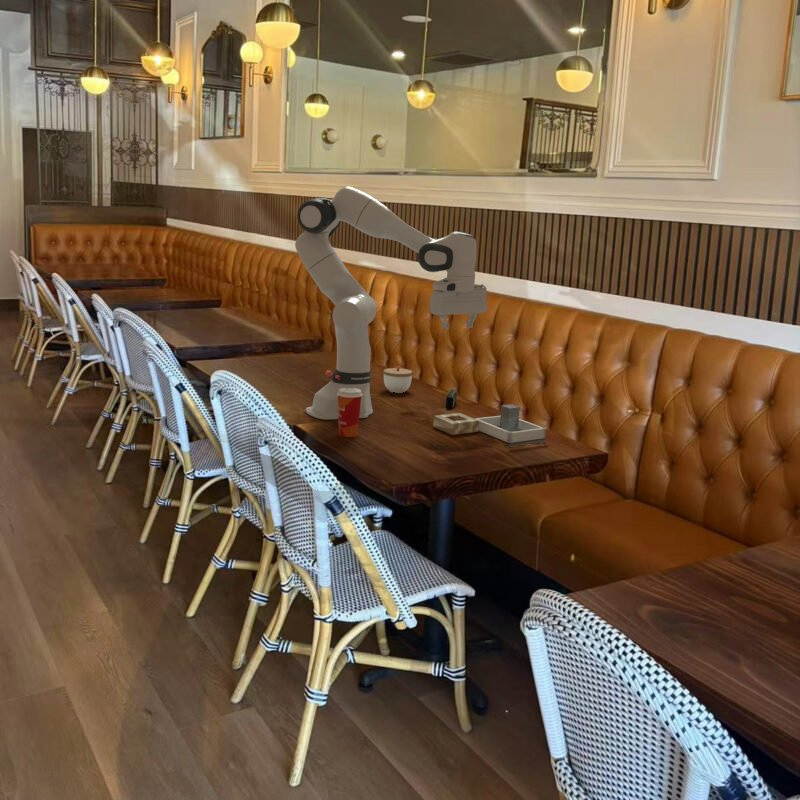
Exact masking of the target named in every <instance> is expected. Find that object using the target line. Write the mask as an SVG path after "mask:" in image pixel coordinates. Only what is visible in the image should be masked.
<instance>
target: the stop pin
mask: <svg viewBox="0 0 800 800" xmlns="http://www.w3.org/2000/svg"><path fill="white" fill-rule="evenodd" d="M500 406H501V407H500V416H501V417H500V426H499V428H502V429H504V430H507V431H509V432H515V431H519V429H518V423H519V419H520V409H521V407H520V406H517V405H515V404H512V403H511V404H504V405H503V404H502V405H500Z"/></svg>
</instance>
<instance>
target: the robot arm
mask: <svg viewBox="0 0 800 800" xmlns="http://www.w3.org/2000/svg"><path fill="white" fill-rule="evenodd" d="M296 216H297V217H296V218H297V222H298V225H299V226H300V227H301V229H303V230H304V231H303V232H302V233H301V234H299V236H298V237H297V239H296V240H295V245H294V246H295V250H296V253H297V254H298V257H299V259H300V261H301V263H302V264H303V266H304V268H305V270H306V271H307V272H308V274H309V276H310V277H311V278H312V280H313V281H314V283H315V285H316V286H317V287H318V289H319V290H320V292H321V293H322V294H324V295H325V296H326V297H327V298H328V299H329V300H330V301H331V302H332V303H333V305H334V306H335V307H334V308H333V310H332V321H333V324H334V333H335V339H336V368H335V370H334V371H331V370H330V369H329V370H328V369H327V370H326V372H325V375H326V377H328V378H331V380H330V381H329V382H328V383H327V384H326V385H324V386H323V387H322V388H321V389H319V390H318V391H316V392H315V394H314V397H313V401H312V406H309V407H305V413H306V414H307V415H309V416H311V417H313V418H315V419H320V420H327V421H328V420H338V395H337V393H338V390H339V389H341V388H352V389H353V388H356V389H360V390H361V393H362V396H361V405H360V416H359V419H366V418H368V417H369V416H370V415H372V414H373V413H374V410H373V405H372V401H371V390H370V386H371V380H372V371H371V354H372V353H371V349H372V348H371V345H370V344H371V343H370V339H369V338H370V337H369V330H368V329H369V324H370V323H372V322H373V320H374V319H375V317H376V315H377V308H378V307H377V304H376V303H377V302H376V301H375V299H374V298H373V297H372V296H370V294H368V292H367V291H366V290H365V288H364V287H363V286H362V285H361V284H360V282H358V280H356V279H355V277H354V276H353V275H352V274H351V272H350V271H349V270H348V268H347V267H346V266H345V264H344V262H343V260H341V258H340V256H339V255H338V253H337V252H336V251H335V249H334V248H333V246H332V244H331V243H330V241H329V240H330V239H329V238H330V237H331V236H332V235H333V233H335V231H336V230H337V228H338V227H339V226H340V225H341V223H342V222H344V223H347V224H348V225H350V226H351V227H353V228H355V229H356V230H358V231H360V232H361V233H363V234H366V236H367V235H368V236H371V237H373V238H377V239H385V240H392V241H396V242H398V243H400V244H402V245H403V246H405V247H407V248H409V249H410V250H412V251H414V252H415V253H417V261H418V264H419V266H420V267H421V268H422V269H423V270H424V271H427V272H429V273H438V272H444V271H445V272H446V273H447V274H446V277H444V278H443V279H440V280H438V281H435V282H433V283H432V289H433V291H432V293H431V294H430V302H429V303H430V304H429V311H430V313H431V314H433V315H435V316H439V319H440V322H441V323H442V325H441V327H442V329H444V330H448V329H450V323H449V322H448V321H447V319H448V315H467V314H468V315H469V319H468V320H467V321H466V323H465V324H466V325H465V326H466V328H470V329H471V328H472V329H473V327H474V322H475V321H476V319H477V316H478V314H485V313H486V312H487V310H488V297H487V293H488V292H487V291H488V290H487V286H485V284H483V283H479V284H478V283H477V284H476V283H475V282H476V281H475V280H476V271H475V266H476V264H477V241H476V238H475V237H474V236H473V235H472V234H470V233H466V232H463V231H452V232H451V233H449V234H447V235H446V236H444V237H441V238H434V237H430V236H428V235H426V234H425V233H424V232H421V231H420V230H418V229H417V228H415V227H413V226H411V225H409V224H408V223H406V222H405V221H404V220H403V219H401V218H400V217H399V216H398V215H396V214H395V212H393V211H392V210H391V209H390V208H389V207H387V206H386V205H385V204H383V203H382V202H381V201H379V200H378V199H376V198H375V197H373V196H371V195H369V194H368V193H365V192H364V191H361V190H359V189H357V188H354V187H351V186H344V187H341V188H340V189H339V190H338V191H337V192H336V193H335V195H334V197H332V198H328V197H327V198H326V197H315V198H311V199H308V200H306V201H304V202H303V203H302V204H300V206H299V208H298V210H297V213H296Z"/></svg>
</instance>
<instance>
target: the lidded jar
mask: <svg viewBox="0 0 800 800" xmlns="http://www.w3.org/2000/svg"><path fill="white" fill-rule="evenodd" d="M412 379H413V370H411V369H407V368H400V366H399V365H398V366H396V367H393V368H392V367H391V368H389V367H388V368H385V369H383V383H384V386H385V388H386V389H387V391H388V392H390V393H393V392H395V393H394V394H402V393H403V392H404V393H405V392H406V391H407V390H408V389H409V388H410V386H411V383H412ZM404 393H403V394H404Z"/></svg>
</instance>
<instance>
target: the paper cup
mask: <svg viewBox="0 0 800 800" xmlns="http://www.w3.org/2000/svg"><path fill="white" fill-rule="evenodd" d="M337 395H338V419H337V420H338V435H340V436H339V437H341V436H342V438H345V437H353V438H356V437H358V433H359V424H360V418H359V416H360V405H361V396H362V393H361V390H360V389H356V388H353V389H352V388H341V389H339V390H338V393H337Z"/></svg>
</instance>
